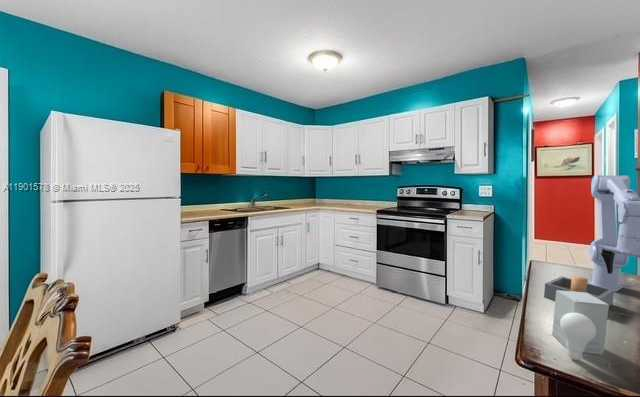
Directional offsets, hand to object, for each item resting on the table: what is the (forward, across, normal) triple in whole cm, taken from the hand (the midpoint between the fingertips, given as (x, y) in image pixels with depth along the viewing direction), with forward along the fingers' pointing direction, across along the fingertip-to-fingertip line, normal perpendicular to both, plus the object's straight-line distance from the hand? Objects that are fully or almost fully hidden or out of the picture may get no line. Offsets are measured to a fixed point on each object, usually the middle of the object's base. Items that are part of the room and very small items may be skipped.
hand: (625, 276), depth 94 cm
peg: (+9, -8, -11) cm, 17 cm away
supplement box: (+10, +1, -44) cm, 45 cm away
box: (+9, -8, -11) cm, 17 cm away
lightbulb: (+10, +3, -52) cm, 53 cm away
